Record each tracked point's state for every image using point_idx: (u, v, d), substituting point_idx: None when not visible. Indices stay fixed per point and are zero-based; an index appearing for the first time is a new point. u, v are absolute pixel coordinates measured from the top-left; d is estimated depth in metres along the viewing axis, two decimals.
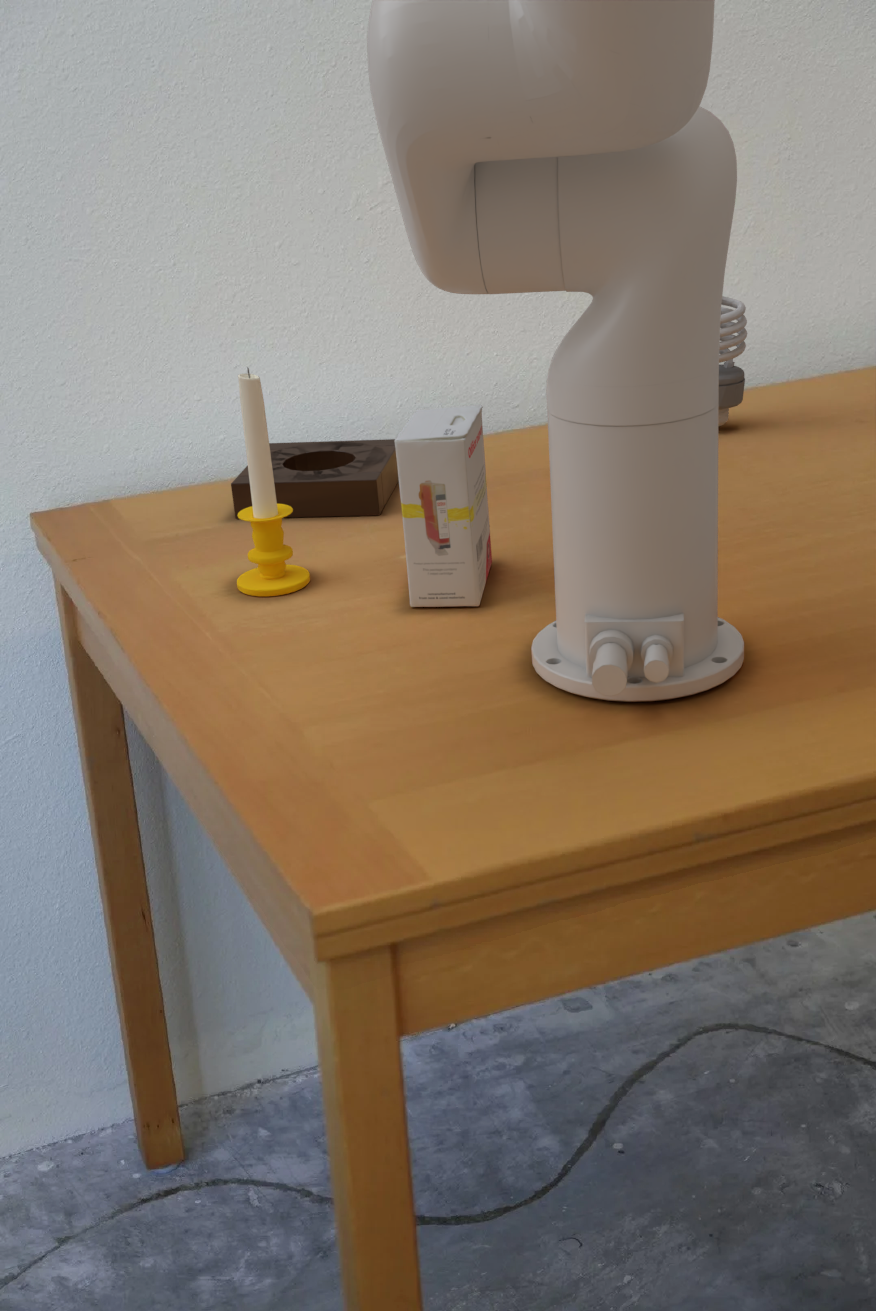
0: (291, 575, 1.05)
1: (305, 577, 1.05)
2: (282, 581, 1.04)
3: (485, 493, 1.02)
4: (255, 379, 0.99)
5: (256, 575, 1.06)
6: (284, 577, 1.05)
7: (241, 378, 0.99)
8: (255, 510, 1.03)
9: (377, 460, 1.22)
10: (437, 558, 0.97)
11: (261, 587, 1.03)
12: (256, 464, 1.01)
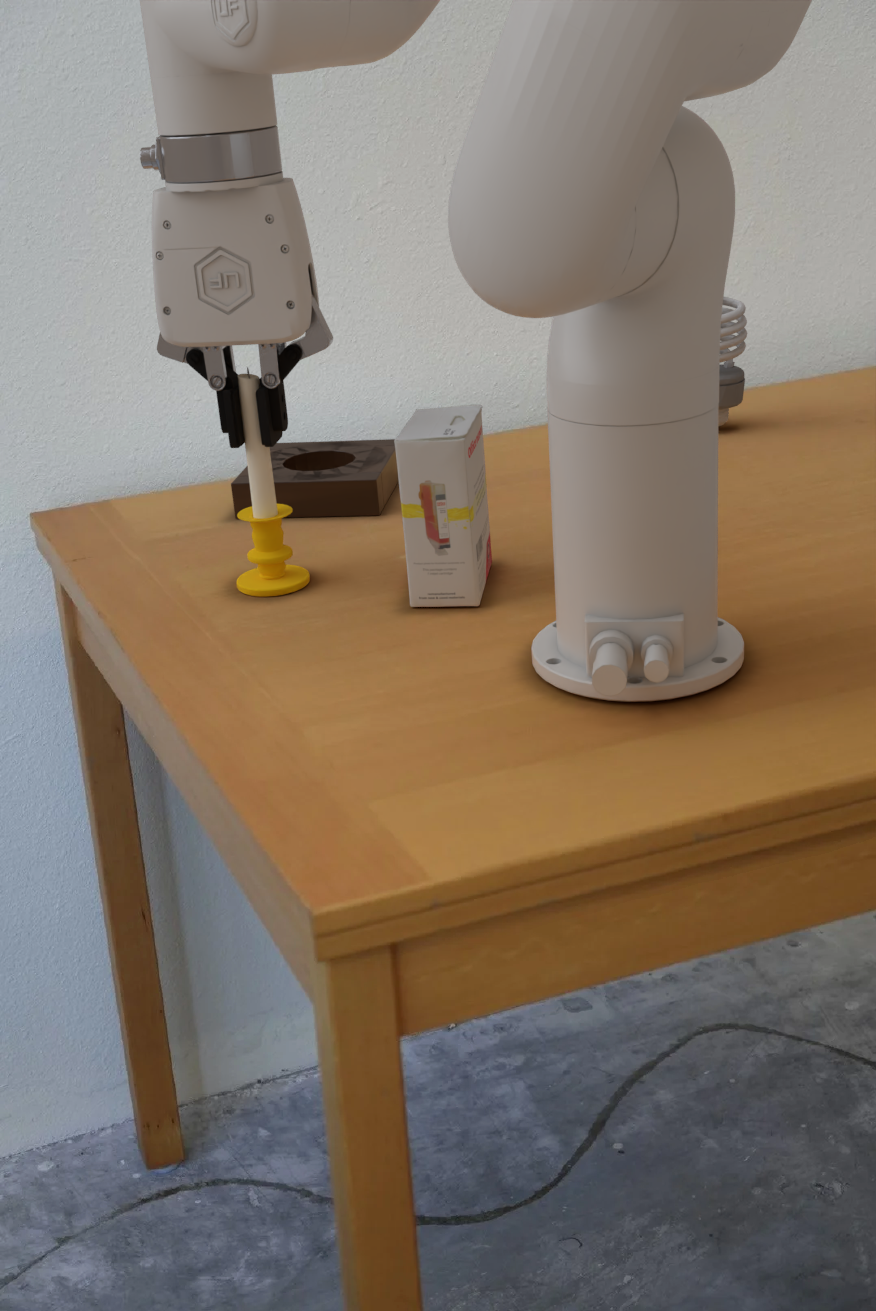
0: (291, 575, 1.05)
1: (305, 577, 1.05)
2: (282, 581, 1.04)
3: (485, 493, 1.02)
4: (255, 379, 0.99)
5: (255, 575, 1.06)
6: (284, 577, 1.05)
7: (241, 378, 0.99)
8: (255, 510, 1.03)
9: (377, 460, 1.22)
10: (436, 558, 0.97)
11: (261, 587, 1.03)
12: (256, 464, 1.01)
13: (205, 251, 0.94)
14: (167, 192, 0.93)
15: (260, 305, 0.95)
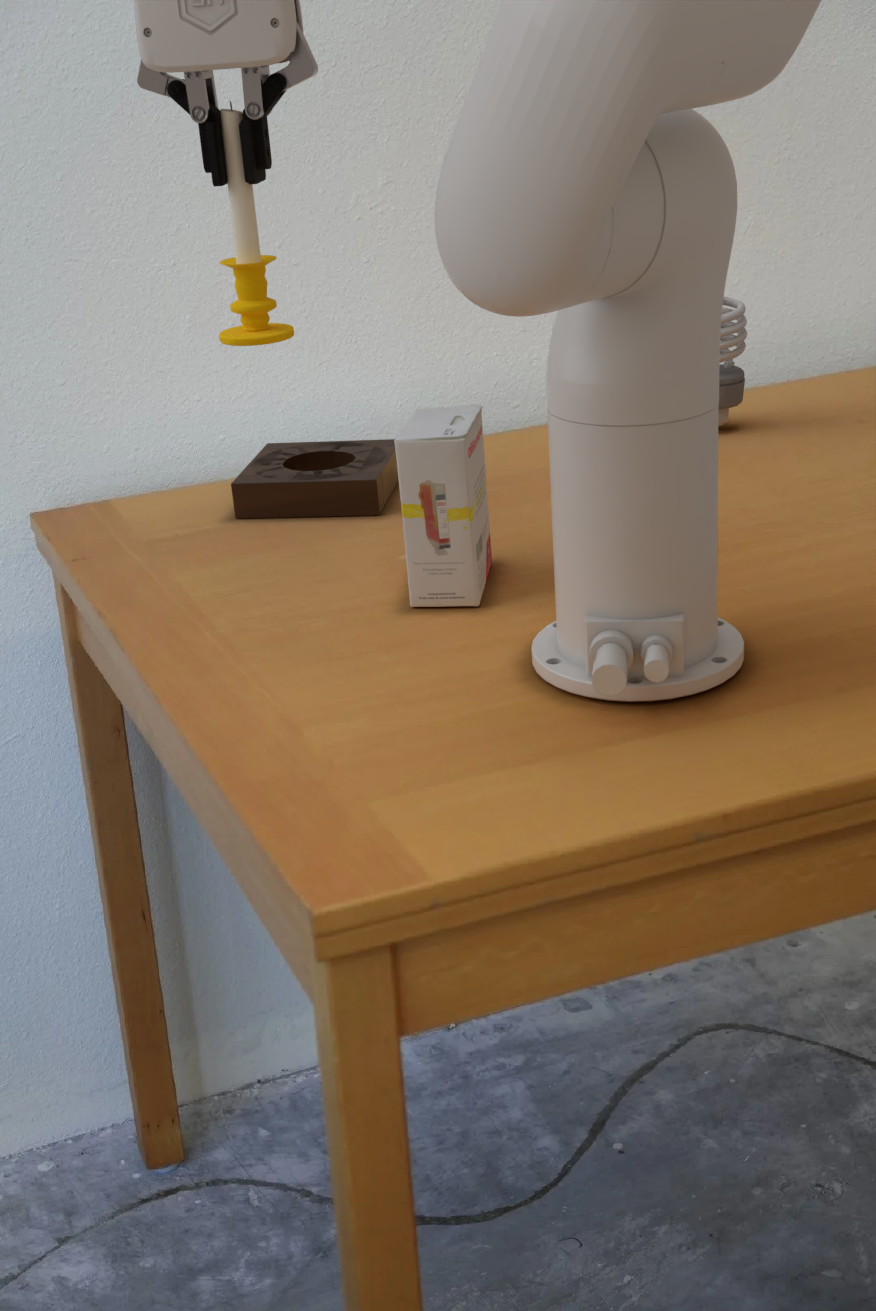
0: (275, 328, 1.03)
1: (289, 329, 1.02)
2: (266, 332, 1.02)
3: (485, 493, 1.02)
4: (238, 112, 0.97)
5: (238, 329, 1.03)
6: (268, 329, 1.02)
7: (223, 111, 0.97)
8: (238, 256, 1.00)
9: (377, 460, 1.22)
10: (437, 558, 0.97)
11: (244, 337, 1.01)
12: (239, 205, 0.99)
13: None
14: None
15: (243, 23, 0.92)
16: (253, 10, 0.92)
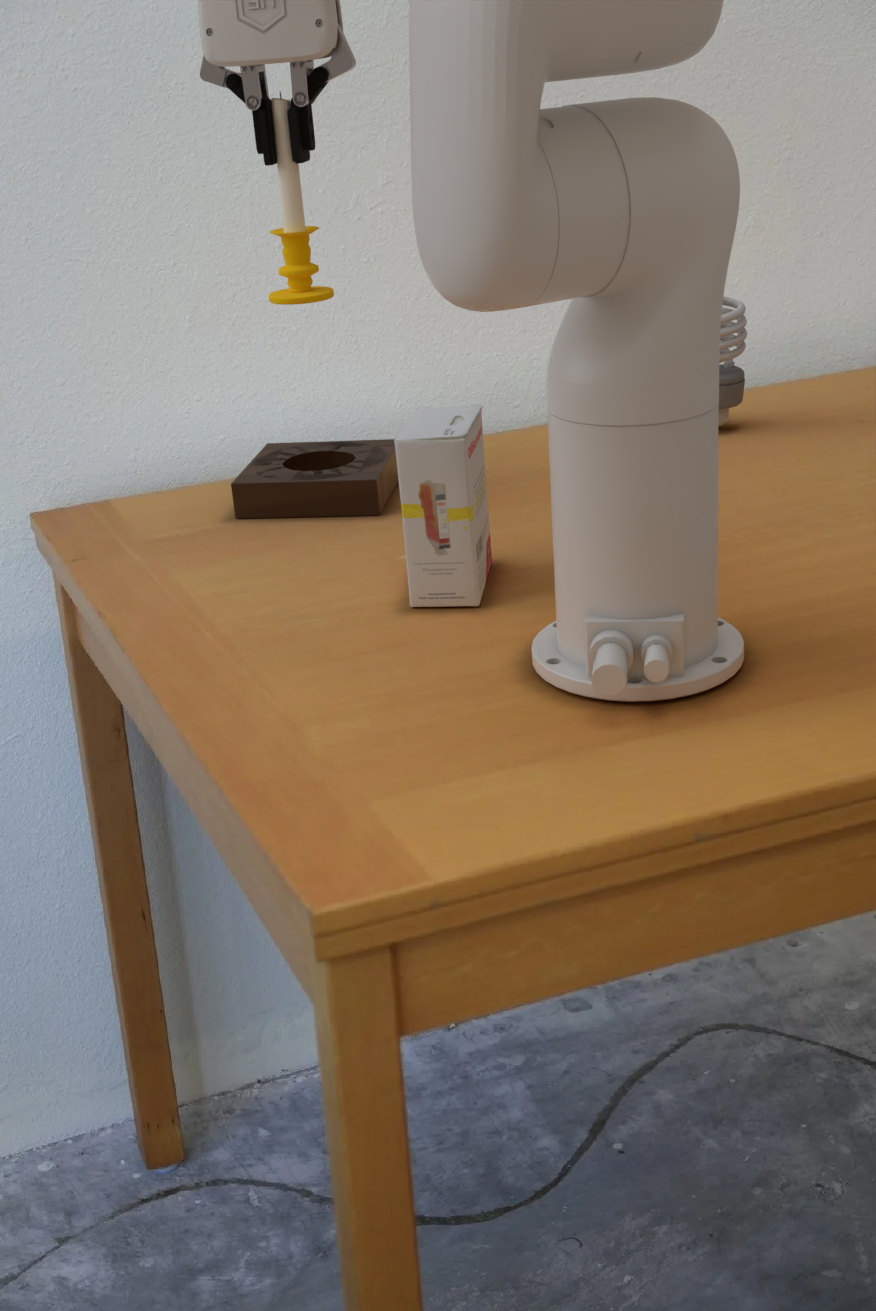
0: (317, 290, 1.18)
1: (330, 290, 1.17)
2: (309, 292, 1.17)
3: (485, 493, 1.02)
4: (286, 101, 1.12)
5: (285, 291, 1.18)
6: (311, 291, 1.17)
7: (274, 100, 1.12)
8: (285, 226, 1.15)
9: (377, 460, 1.22)
10: (437, 558, 0.97)
11: (290, 296, 1.16)
12: (287, 181, 1.14)
13: None
14: None
15: (292, 24, 1.07)
16: (300, 12, 1.07)
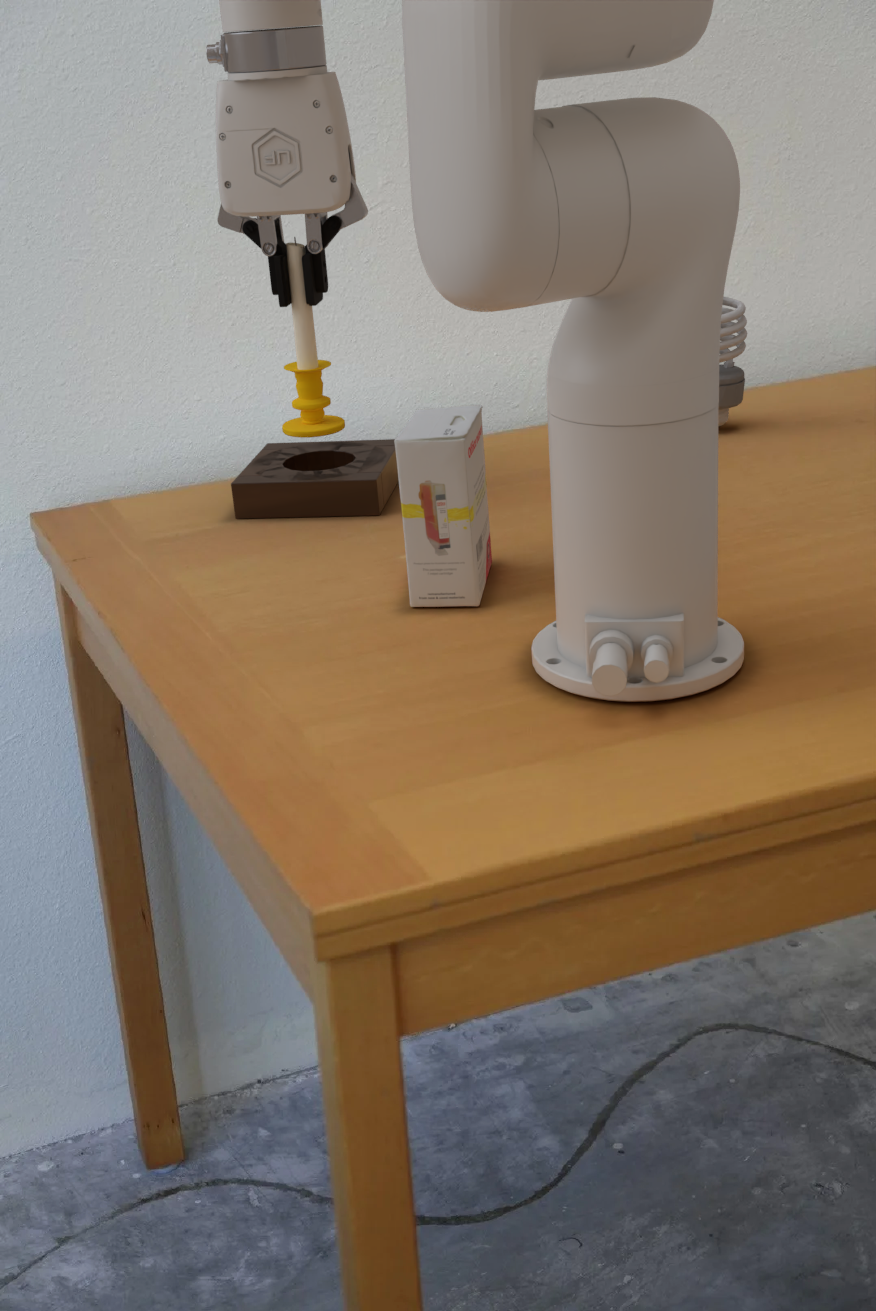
0: (329, 421, 1.22)
1: (341, 423, 1.22)
2: (321, 425, 1.21)
3: (485, 493, 1.02)
4: (301, 246, 1.16)
5: (298, 421, 1.23)
6: (323, 422, 1.22)
7: (289, 245, 1.16)
8: (299, 362, 1.20)
9: (377, 460, 1.22)
10: (437, 558, 0.97)
11: (304, 430, 1.20)
12: (300, 321, 1.18)
13: (261, 132, 1.11)
14: (230, 81, 1.10)
15: (307, 179, 1.12)
16: (315, 168, 1.11)
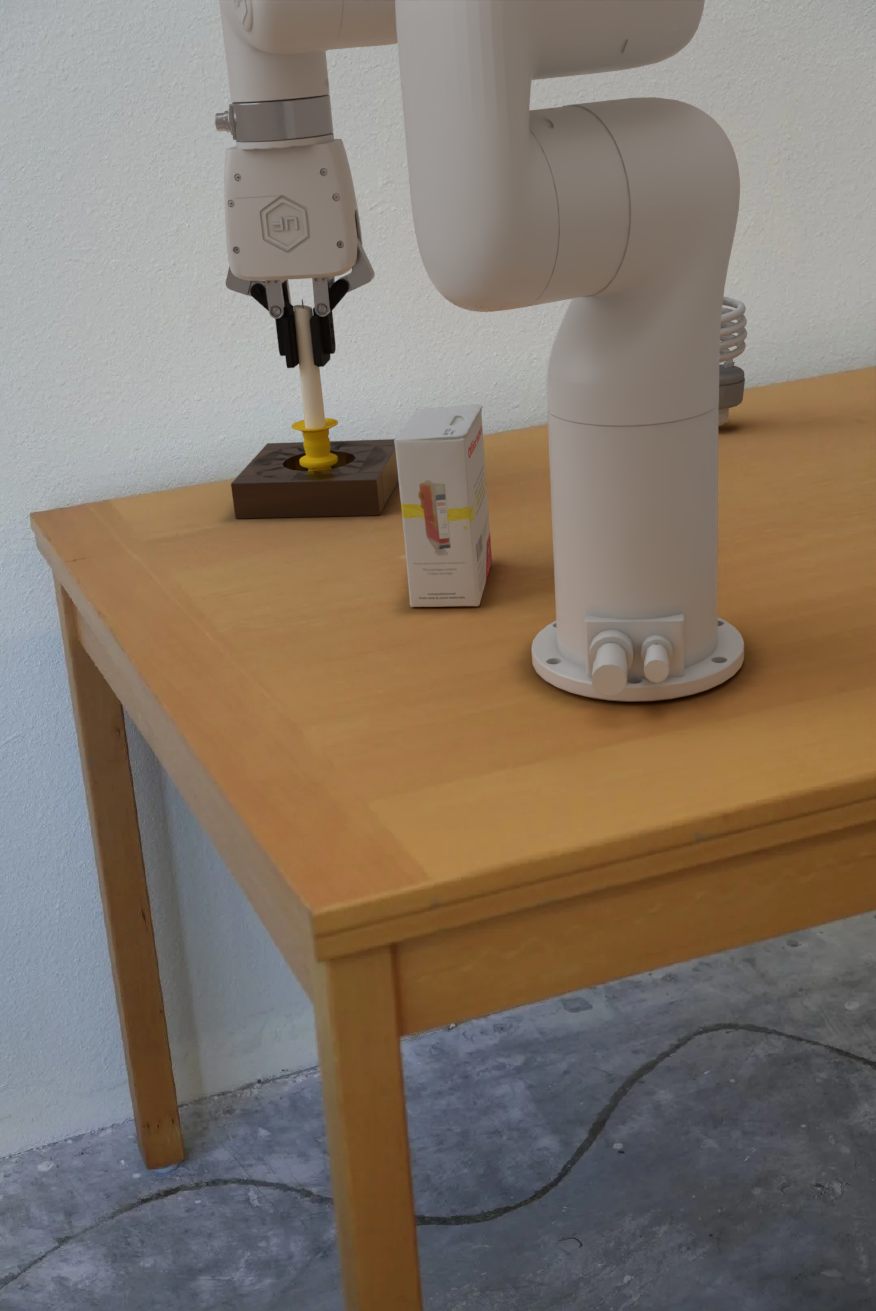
0: None
1: None
2: None
3: (485, 493, 1.02)
4: (308, 309, 1.18)
5: None
6: None
7: (296, 308, 1.18)
8: (306, 422, 1.22)
9: (377, 460, 1.22)
10: (436, 558, 0.97)
11: None
12: (308, 382, 1.20)
13: (269, 199, 1.13)
14: (238, 150, 1.12)
15: (315, 244, 1.13)
16: (323, 234, 1.13)
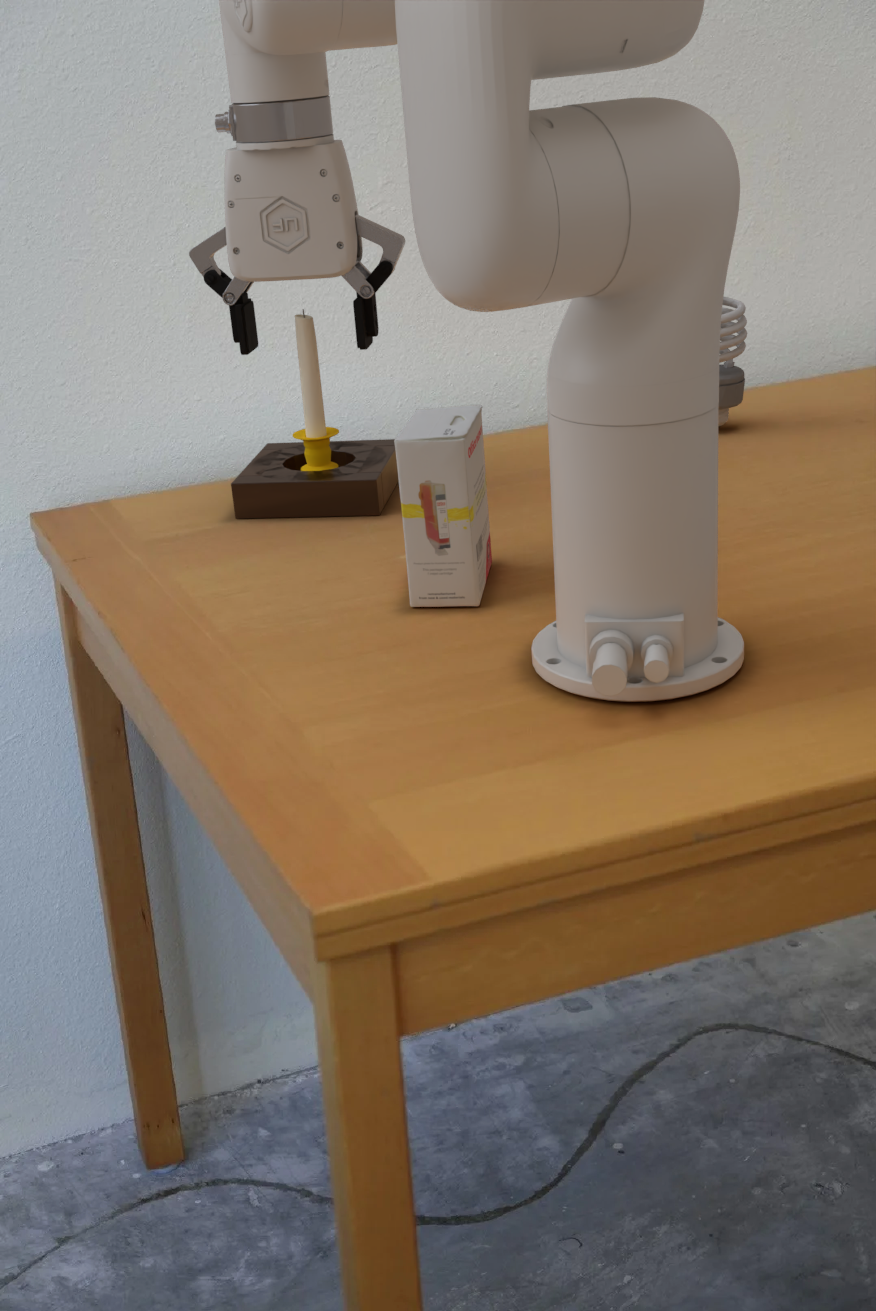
0: None
1: None
2: None
3: (485, 493, 1.02)
4: (309, 318, 1.18)
5: None
6: None
7: (297, 318, 1.18)
8: (307, 431, 1.22)
9: (377, 460, 1.22)
10: (436, 558, 0.97)
11: None
12: (309, 391, 1.20)
13: (269, 200, 1.13)
14: (238, 151, 1.12)
15: (315, 245, 1.14)
16: (322, 235, 1.13)
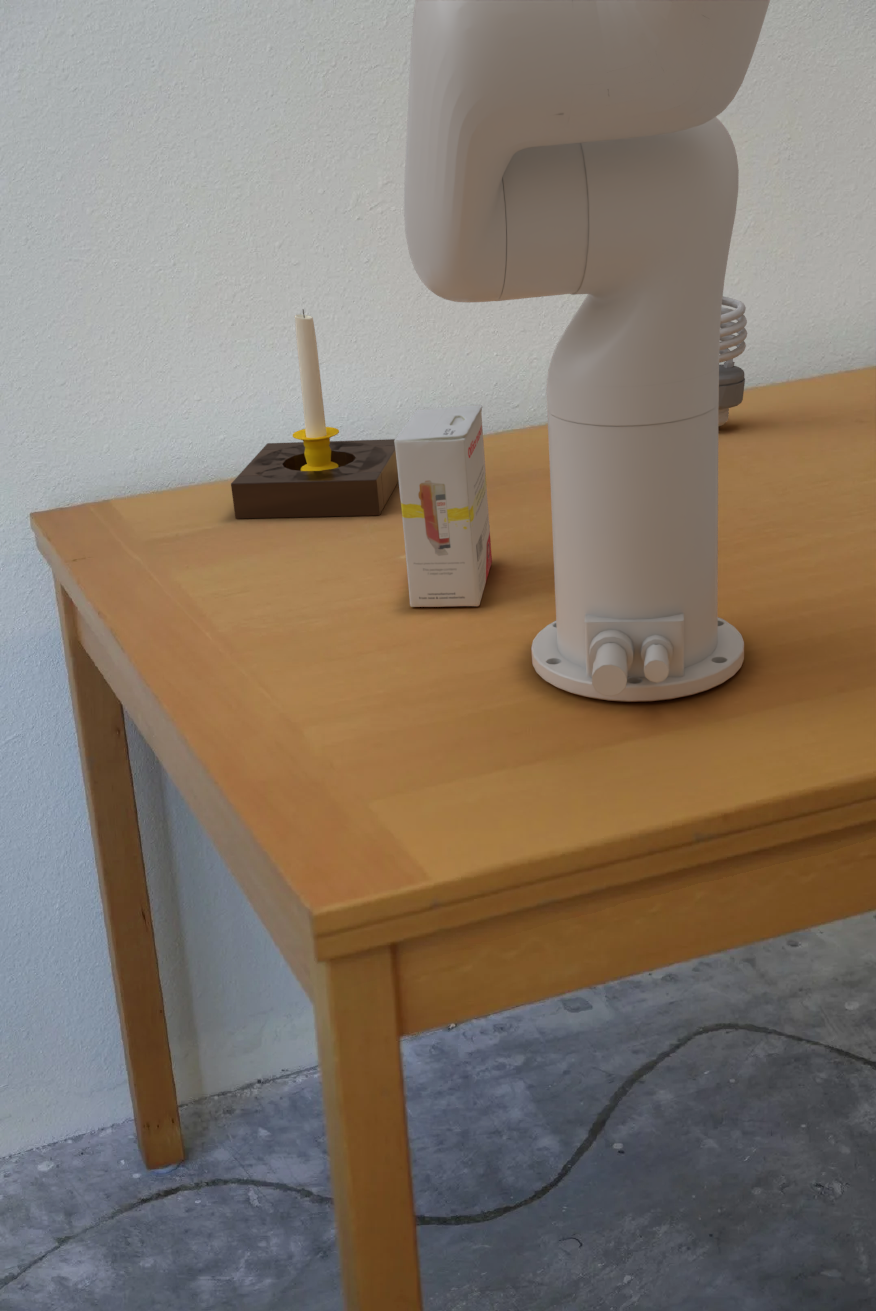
0: None
1: None
2: None
3: (485, 493, 1.02)
4: (309, 319, 1.18)
5: None
6: None
7: (297, 318, 1.18)
8: (307, 431, 1.22)
9: (377, 460, 1.22)
10: (436, 558, 0.97)
11: None
12: (309, 391, 1.20)
13: None
14: None
15: None
16: None
